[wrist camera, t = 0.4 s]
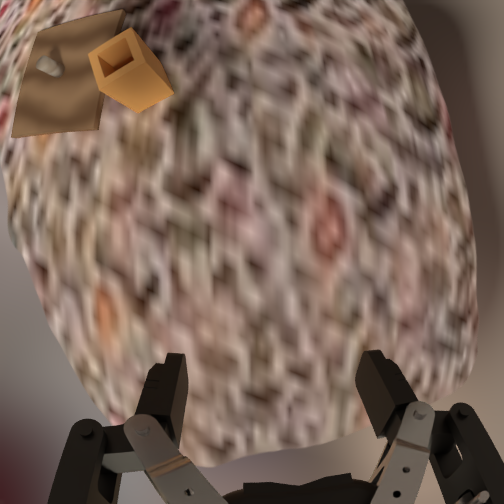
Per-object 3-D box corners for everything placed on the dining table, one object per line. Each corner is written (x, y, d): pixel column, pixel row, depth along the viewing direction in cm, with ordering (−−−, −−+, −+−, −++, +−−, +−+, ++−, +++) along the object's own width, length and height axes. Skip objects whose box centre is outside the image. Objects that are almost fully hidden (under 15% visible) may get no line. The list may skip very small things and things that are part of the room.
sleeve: (125, 82, 35) (87, 53, 24) (160, 62, 34) (131, 26, 23) (137, 113, 36) (99, 90, 25) (174, 93, 35) (145, 62, 24)
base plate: (42, 34, 32) (22, 22, 26) (126, 13, 32) (109, -7, 26) (16, 138, 36) (-9, 134, 30) (98, 129, 36) (73, 121, 30)
